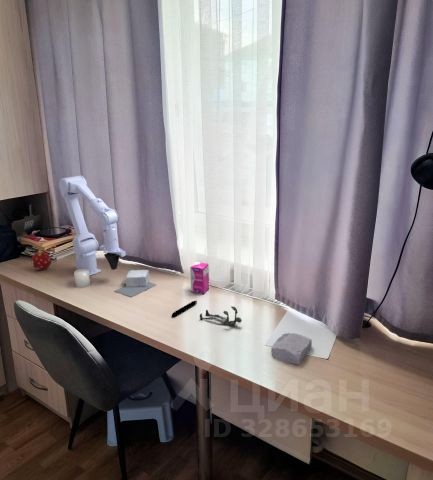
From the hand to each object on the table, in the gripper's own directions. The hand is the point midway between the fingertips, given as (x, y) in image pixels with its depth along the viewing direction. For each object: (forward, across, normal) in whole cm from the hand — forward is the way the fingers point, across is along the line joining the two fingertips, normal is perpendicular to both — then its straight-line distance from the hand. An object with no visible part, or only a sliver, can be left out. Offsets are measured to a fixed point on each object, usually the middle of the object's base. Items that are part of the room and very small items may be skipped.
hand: (114, 268), depth 171 cm
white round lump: (+6, -9, -10) cm, 15 cm away
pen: (+6, +42, -3) cm, 43 cm away
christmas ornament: (+6, -40, -10) cm, 42 cm away
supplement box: (+6, +37, +13) cm, 39 cm away
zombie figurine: (+6, +59, -3) cm, 59 cm away
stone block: (+6, +86, -5) cm, 86 cm away
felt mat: (+6, +13, 0) cm, 14 cm away
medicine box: (+3, +6, +1) cm, 7 cm away
